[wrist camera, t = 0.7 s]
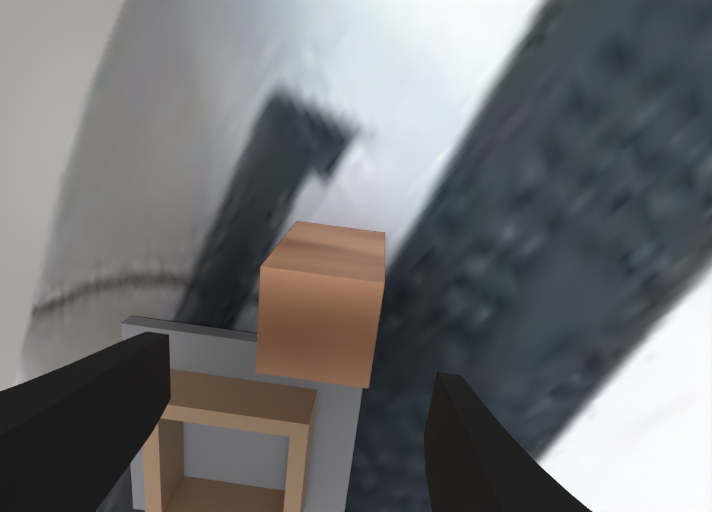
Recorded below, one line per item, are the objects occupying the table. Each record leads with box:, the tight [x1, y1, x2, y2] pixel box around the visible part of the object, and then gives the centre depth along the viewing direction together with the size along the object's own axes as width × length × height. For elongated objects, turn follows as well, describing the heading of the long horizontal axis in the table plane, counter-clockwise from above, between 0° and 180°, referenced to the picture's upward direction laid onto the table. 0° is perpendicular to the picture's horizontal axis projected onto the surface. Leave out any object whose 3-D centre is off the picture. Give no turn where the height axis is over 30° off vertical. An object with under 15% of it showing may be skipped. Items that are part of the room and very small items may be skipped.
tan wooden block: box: [255, 221, 385, 389], centre depth 17 cm, size 4×4×6 cm
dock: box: [121, 316, 363, 512], centre depth 22 cm, size 12×12×3 cm
